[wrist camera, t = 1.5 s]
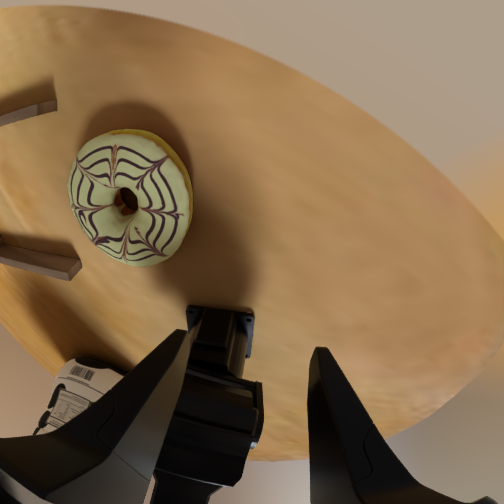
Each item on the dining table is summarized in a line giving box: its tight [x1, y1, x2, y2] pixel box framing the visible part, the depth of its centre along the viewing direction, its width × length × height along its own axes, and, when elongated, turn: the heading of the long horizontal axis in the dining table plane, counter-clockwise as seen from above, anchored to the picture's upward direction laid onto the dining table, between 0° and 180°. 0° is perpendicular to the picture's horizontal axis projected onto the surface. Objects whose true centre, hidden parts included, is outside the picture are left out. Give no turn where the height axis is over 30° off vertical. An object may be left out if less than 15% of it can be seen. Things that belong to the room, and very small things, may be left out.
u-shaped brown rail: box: [0, 100, 82, 281], centre depth 21 cm, size 17×16×2 cm
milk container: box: [33, 358, 125, 435], centre depth 31 cm, size 17×17×18 cm
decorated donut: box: [67, 129, 193, 267], centre depth 20 cm, size 10×11×4 cm
